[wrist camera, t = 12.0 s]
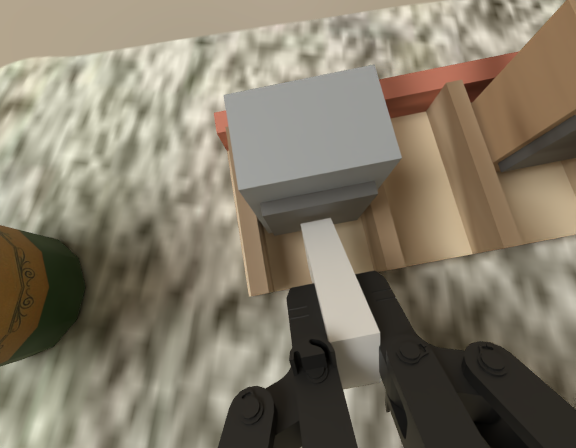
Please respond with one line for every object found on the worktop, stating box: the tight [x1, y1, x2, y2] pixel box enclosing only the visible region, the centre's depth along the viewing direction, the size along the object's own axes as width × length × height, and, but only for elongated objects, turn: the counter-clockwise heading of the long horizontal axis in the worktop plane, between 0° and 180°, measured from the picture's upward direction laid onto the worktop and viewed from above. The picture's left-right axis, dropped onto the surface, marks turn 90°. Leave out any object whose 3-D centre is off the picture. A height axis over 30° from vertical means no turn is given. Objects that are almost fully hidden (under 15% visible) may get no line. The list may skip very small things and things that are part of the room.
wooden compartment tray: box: [214, 52, 576, 296], centre depth 19 cm, size 24×12×4 cm, turn 101°
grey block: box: [224, 65, 402, 236], centre depth 15 cm, size 6×5×9 cm
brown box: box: [471, 0, 576, 172], centre depth 15 cm, size 6×5×9 cm
